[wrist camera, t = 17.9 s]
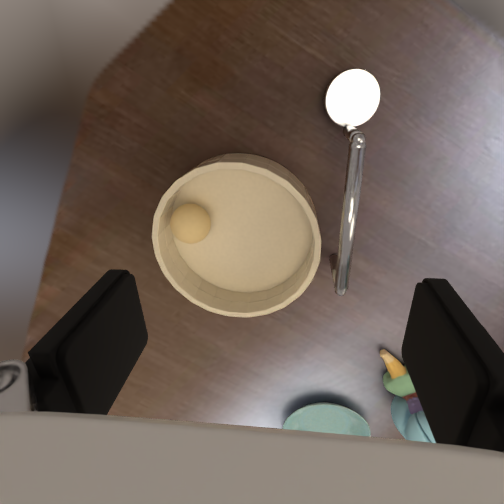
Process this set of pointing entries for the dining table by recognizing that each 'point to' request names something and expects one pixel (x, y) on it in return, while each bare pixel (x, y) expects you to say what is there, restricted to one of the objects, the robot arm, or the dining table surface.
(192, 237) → the tan ball
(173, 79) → the dining table surface
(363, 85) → the ladle
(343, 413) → the saucer
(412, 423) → the multicolor toy piece
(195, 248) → the bowl
